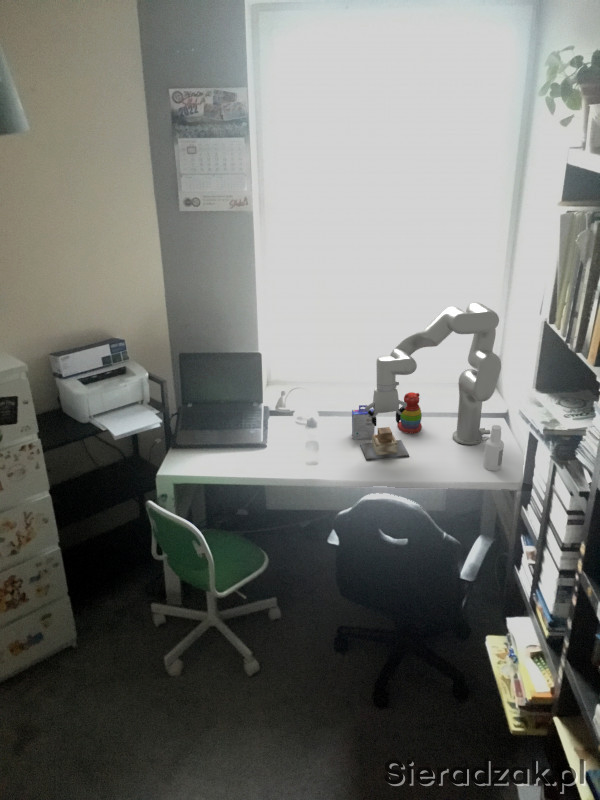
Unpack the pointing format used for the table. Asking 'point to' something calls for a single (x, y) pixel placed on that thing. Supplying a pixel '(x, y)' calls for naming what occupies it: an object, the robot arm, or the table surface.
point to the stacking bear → (411, 414)
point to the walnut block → (384, 435)
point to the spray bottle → (494, 450)
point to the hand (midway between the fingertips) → (386, 423)
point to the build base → (387, 456)
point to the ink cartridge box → (362, 424)
